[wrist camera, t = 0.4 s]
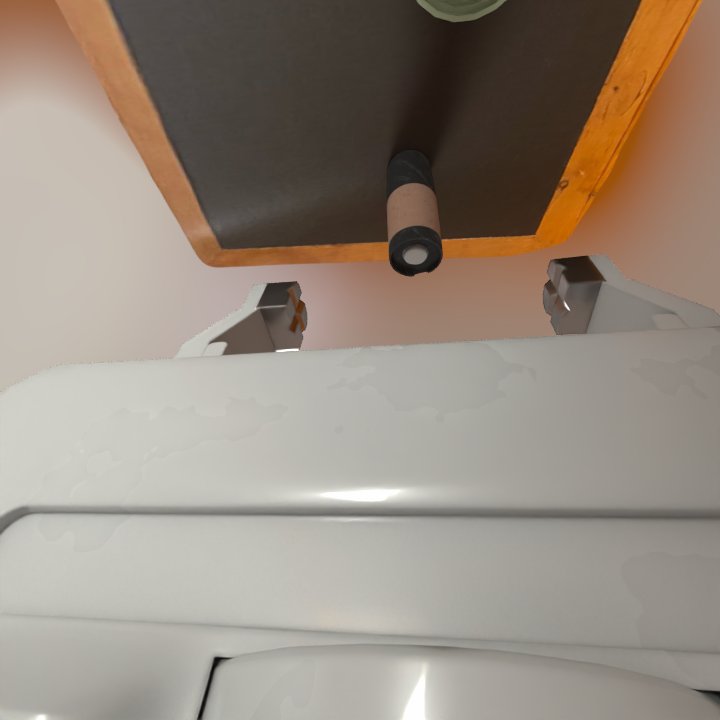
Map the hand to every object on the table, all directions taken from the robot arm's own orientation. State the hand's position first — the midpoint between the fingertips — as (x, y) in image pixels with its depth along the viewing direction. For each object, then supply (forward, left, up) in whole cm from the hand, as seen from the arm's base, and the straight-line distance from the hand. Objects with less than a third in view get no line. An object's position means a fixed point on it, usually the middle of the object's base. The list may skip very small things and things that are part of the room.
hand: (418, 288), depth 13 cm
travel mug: (+23, +20, -52) cm, 60 cm away
